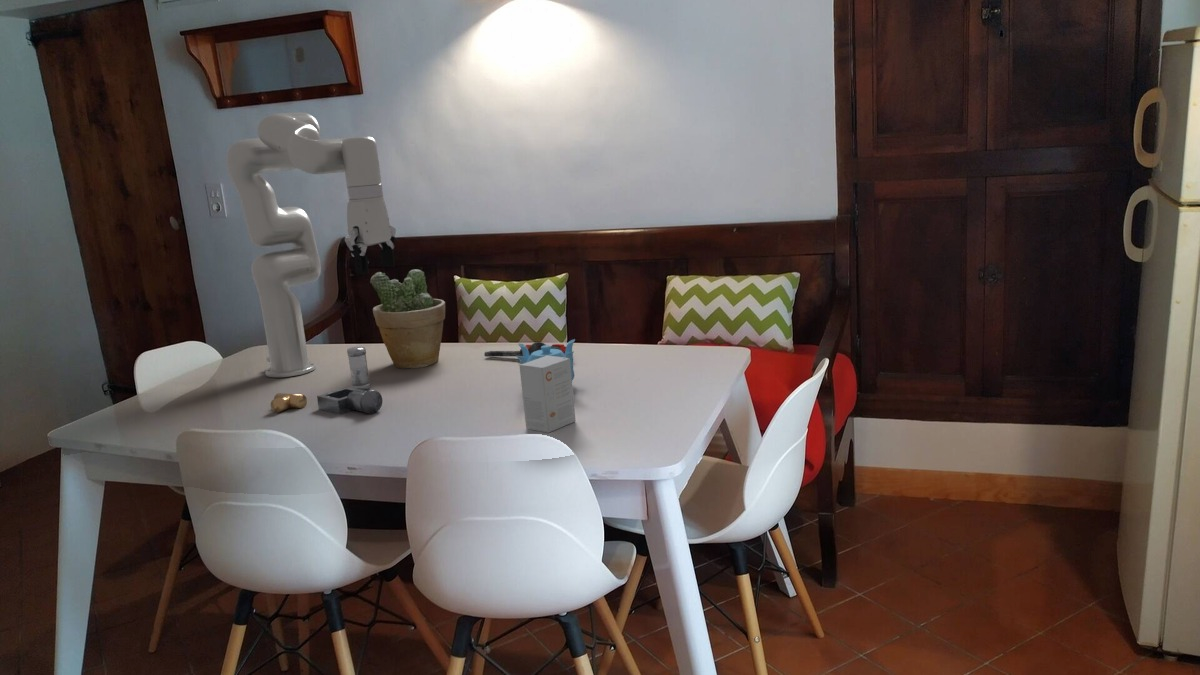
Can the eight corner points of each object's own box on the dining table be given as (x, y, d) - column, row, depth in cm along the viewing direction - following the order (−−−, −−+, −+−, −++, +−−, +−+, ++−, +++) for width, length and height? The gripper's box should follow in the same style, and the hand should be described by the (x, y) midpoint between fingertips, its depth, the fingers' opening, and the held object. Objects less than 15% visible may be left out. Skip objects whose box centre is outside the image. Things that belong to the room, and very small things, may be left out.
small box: (553, 417, 188) (547, 354, 185) (576, 421, 184) (571, 357, 181) (524, 428, 182) (518, 364, 179) (548, 433, 178) (542, 367, 175)
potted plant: (418, 352, 257) (406, 262, 251) (467, 357, 246) (456, 263, 240) (365, 368, 242) (353, 273, 237) (415, 375, 231) (403, 275, 226)
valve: (592, 362, 239) (560, 368, 226) (509, 361, 253) (475, 367, 240) (591, 337, 239) (559, 342, 226) (508, 338, 252) (474, 342, 239)
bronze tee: (307, 405, 211) (305, 393, 211) (288, 413, 206) (286, 400, 205) (284, 404, 214) (282, 391, 214) (265, 411, 209) (262, 399, 208)
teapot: (519, 400, 203) (514, 355, 200) (522, 384, 215) (518, 341, 213) (578, 395, 203) (574, 350, 200) (578, 379, 215) (574, 336, 213)
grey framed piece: (318, 409, 208) (315, 387, 207) (349, 399, 214) (346, 378, 212) (358, 418, 198) (355, 395, 197) (389, 408, 204) (386, 386, 203)
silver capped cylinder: (349, 390, 222) (343, 349, 220) (363, 386, 225) (358, 345, 223) (359, 392, 219) (353, 351, 217) (374, 388, 222) (368, 347, 220)
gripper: (375, 191, 216) (384, 264, 220) (326, 198, 201) (338, 277, 205) (402, 189, 213) (411, 263, 217) (355, 196, 198) (366, 276, 202)
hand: (375, 270), depth 211 cm, fingers open, 9 cm apart
